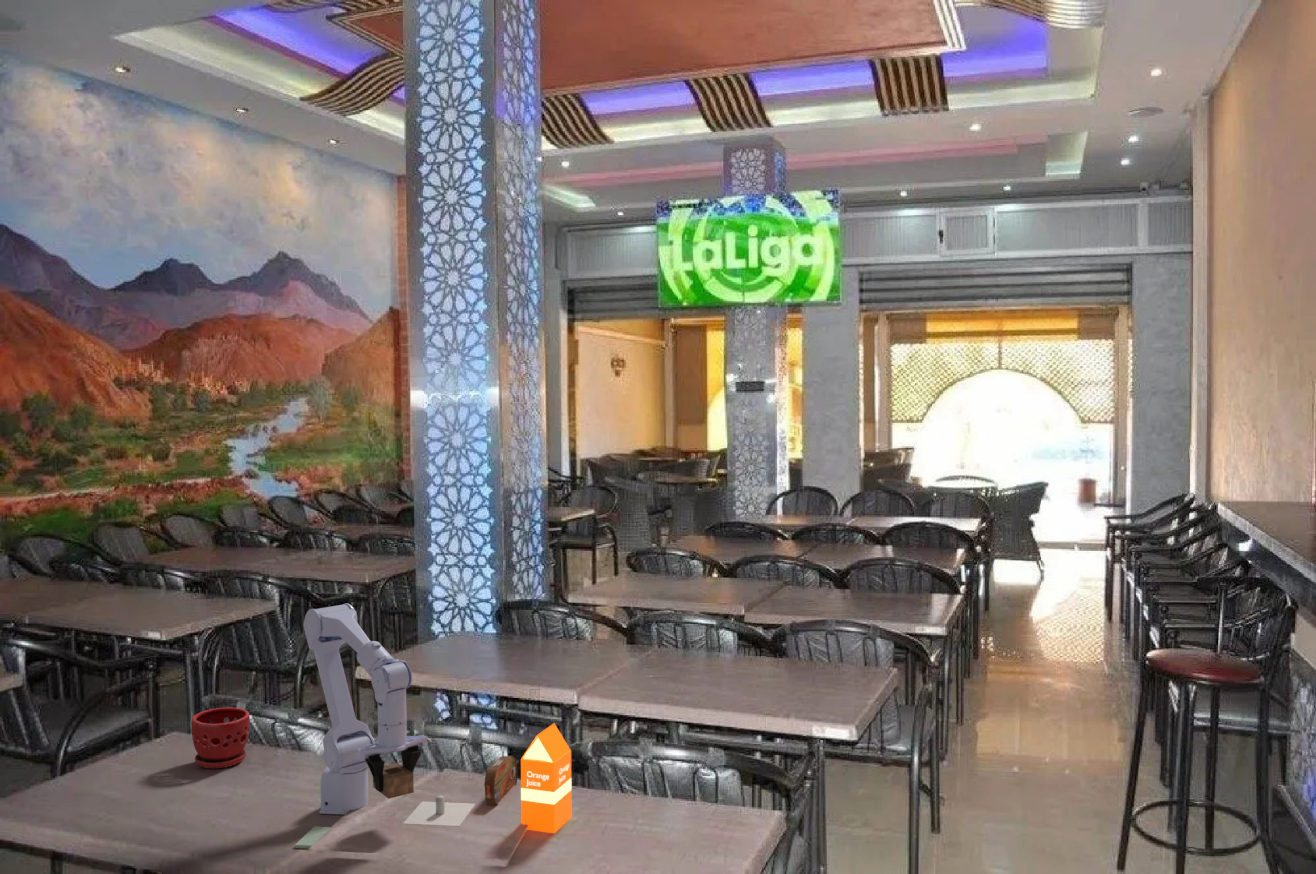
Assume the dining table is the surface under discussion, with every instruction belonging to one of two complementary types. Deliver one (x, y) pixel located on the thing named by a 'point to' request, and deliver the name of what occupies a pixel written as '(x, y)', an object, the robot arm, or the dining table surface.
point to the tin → (500, 779)
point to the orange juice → (546, 782)
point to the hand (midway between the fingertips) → (393, 787)
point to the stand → (439, 813)
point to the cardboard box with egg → (396, 781)
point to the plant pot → (220, 737)
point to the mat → (311, 837)
